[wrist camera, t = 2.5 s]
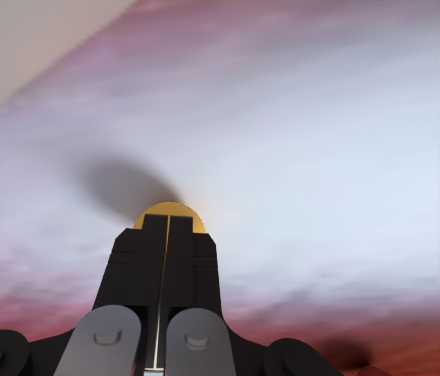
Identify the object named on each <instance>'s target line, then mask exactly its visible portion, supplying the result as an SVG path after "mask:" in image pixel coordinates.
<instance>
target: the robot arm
mask: <svg viewBox="0 0 440 376" xmlns="http://www.w3.org/2000/svg"><path fill="white" fill-rule="evenodd" d="M167 231H168V215H161V214H147V213H145V216H144V220H143V224H142V229H130V228H126V229H125V230H124V231H123V232H122V233H121V234H120V235H119V236H118V237H117V238H116V239H115V242H114V245H113V248H112V252H111V254H110V257H109V260H108V265H107V266H106V269H105V272H104V275H103V278H102V281H101V284H100V287H99V291H98V294H97V297H96V300H95V303H94V306H93V308H92V310H91V311H90V312H89V313H88V314H86V315H85V316H84V317H83V318H82V319H81V320H80V321H79V322H78V324H77V326H76V327H75V328H73V329H71V330H70V331H68V332H65V333H63V334H60V335H57V336H53V337H49V338H45V339H41V340H37V341H33V342H29V343H28V341H27V339H26V338H25V337H24V336H23V335H22V334H21V333H19V332H17V331H13V330H5V329H4V330H0V376H144V372H145V368H154V359H155V350H156V341H157V332H158V347H157V363H156V368H164V369H163V376H344V375H343V374H342V373H340V372H339V371H338V370H337V369H336V368H335V367H334V366H332V365H331V364H330V363H329V362H328V361H327V360H326V359H325V358H323V357H322V356H321V355H320V354H319V353H318V352H317V351H316V350H314V349H313V348H312V347H311V346H309V345H308V344H306V343H304V342H302V341H300V340H296V339H291V338H283V339H279V340H276V341H274V342H273V343H271V344H270V345H269V346H268V347H266V346H263V345H260V344H257V343H254V342H251V341H248V340H246V339H244V338H242V337H240V336H238V335H237V334H236V333H234V332H233V331H232V330H231V329H230V328H229V327H228V325H227V324H226V322H225V320H224V318H223V315H222V310H221V298H220V287H219V275H218V264H217V252H216V244H215V243H214V241H213V240H212V238H211V237H210V235H209V234H208V233H193V217H191V216H177V215H170V223H169V232H168V241H167ZM166 246H167V249H166ZM159 315H160V316H159ZM158 324H159V331H158Z"/></svg>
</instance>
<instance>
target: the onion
mask: <svg viewBox="0 0 440 376" xmlns="http://www.w3.org/2000/svg"><path fill="white" fill-rule="evenodd" d="M357 376H393V375H391V374H390V373H388V372H385V371H382V370H381V369H379V368H376V367H372V366H369V365H366V366H364V367H363V368H362V369H361V371H360V372H359V373H358V374H357Z"/></svg>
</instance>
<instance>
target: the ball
mask: <svg viewBox="0 0 440 376" xmlns="http://www.w3.org/2000/svg"><path fill="white" fill-rule="evenodd" d="M145 213H147V214H161V215H168V231H167V241H168V232H169V223H170V215H177V216H191V217H193V233H205V228H204V225H203V223H202V221H201V219H200V217H199V216H198V215H197V214H196V212H194V211H193V210H192V209H191V208H189V207H188V206H186V205H184V204H181V203H177V202H162V203H158V204H155V205H153V206H151V207H150V208H148V209H147V210H145V211H144V212H143V213H142V214H141V215H140V216H139V218H138V219H137V221H136V223H135V225H134V227H133V229H142V224H143V220H144V216H145ZM166 249H167V246H166Z"/></svg>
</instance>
